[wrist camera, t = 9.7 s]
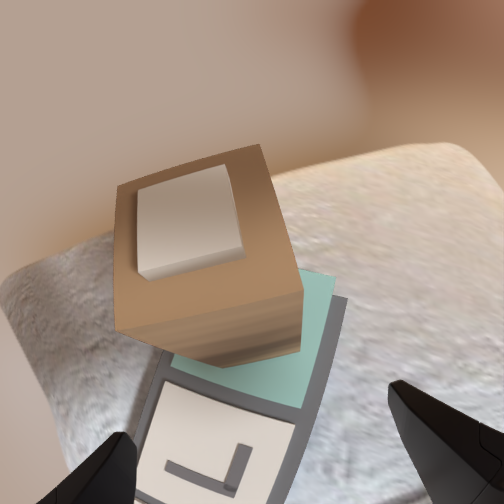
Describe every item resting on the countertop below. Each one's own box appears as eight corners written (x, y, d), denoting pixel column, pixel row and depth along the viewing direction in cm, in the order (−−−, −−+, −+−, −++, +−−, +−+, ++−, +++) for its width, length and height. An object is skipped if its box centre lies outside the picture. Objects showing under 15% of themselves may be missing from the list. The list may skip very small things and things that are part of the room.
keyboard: (230, 602, 9) (225, 613, 8) (110, 550, 12) (99, 556, 10) (347, 289, 19) (352, 280, 17) (206, 256, 22) (199, 245, 20)
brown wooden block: (300, 351, 16) (304, 279, 6) (222, 368, 16) (101, 324, 6) (281, 279, 18) (256, 128, 8) (209, 296, 18) (108, 174, 8)
